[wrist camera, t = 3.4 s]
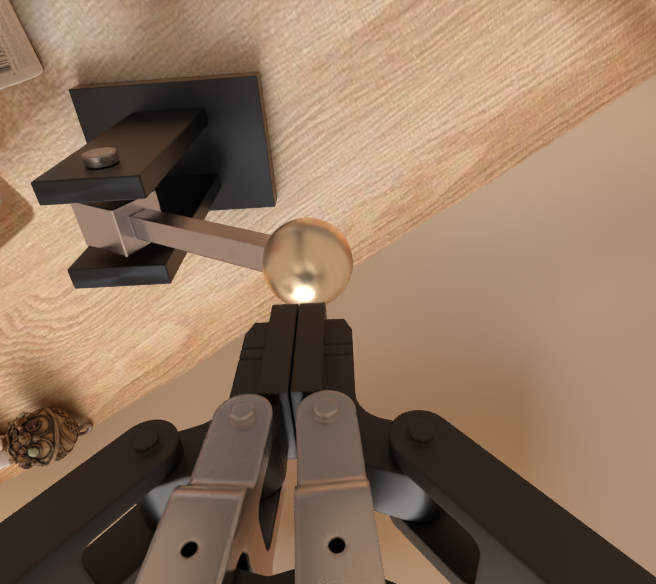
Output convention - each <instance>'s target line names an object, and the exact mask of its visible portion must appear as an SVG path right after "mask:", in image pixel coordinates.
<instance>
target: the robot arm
mask: <svg viewBox="0 0 656 584" xmlns="http://www.w3.org/2000/svg"><path fill="white" fill-rule="evenodd" d="M239 359H240V360H239V362H238V366H237V370H236V374H235V378H234V382H233V386H232V390H231V394H230V398H229V399H228V400H226V401H225V402H223V403H222V404H221V405H220V406H219V407H218V409H217V410H216V411H215V413H214V416H213V418H212V420H210V421H209V422H207V423H205V424H202V425H199V426H196V427H193V428H189V429H186V430H182V431H179V432H178V431H177V429H176V427H175V426H174V425H173V424H172V423H170V422H168V421H164V420H149V421H145V422H143V423H140V424H138V425H136V426H134V427H132V428H131V429H129V430H128V431H126V432H125V433H124V434H122V435H121V436H120V437H118V438H117V439H115V440H114V441H113V442H111V443H110V444H108V445H107V446H106V447H104V448H103V449H102V450H100V451H99V452H97V453H96V454H95V455H93V456H92V457H91V458H89V459H88V460H87V461H85V462H84V463H82V464H81V465H80V466H78V467H77V468H75V469H74V470H73V471H71V472H70V473H69V474H67V475H66V476H64V477H63V478H62V479H60V480H59V481H58V482H56V483H55V484H53V485H52V486H51V487H49V488H48V489H46V490H45V491H44V492H42V493H41V494H40V495H38V496H37V497H35V498H34V499H33V500H32V501H30V502H29V503H27V504H26V505H25V506H23V507H22V508H20V509H19V510H18V511H16V512H15V513H13V514H12V515H11V516H9V517H8V518H6V519H5V520H4V521H2V522H1V523H0V584H396V583H393V582H391V581H388V580H386V579H385V577H384V570H383V564H382V559H381V552H380V545H379V539H378V533H377V527H376V520H375V514H374V511H376V512H380V513H384V514H387V515H390V517H391V520H392V521H393V523H394V525H395V526H396V527H397V528H398V529H399V530H400V531H401V532H402V533H403V534H404V535H405V537H406V538H408V540H409V541H410V542H411V543H413V545H414V546H415V547H416V548H417V549H418V550H419V551H420V552H421V553H422V554H423V555H424V556H425V557H426V558H427V559H428V560H429V561H430V562H431V563H432V565H433V566H434V567H435V568H436V569H437V570H438V571H439V572H440V573H441V574H442V575H443V576H444V577H445V578H446V579H447V580H448V581H449V582H450V583H451V584H656V577H655V576H653V575H652V574H650V573H649V572H648V571H647V570H645V569H644V568H643V567H641V566H640V565H639V564H637V563H636V562H635V561H633V560H632V559H630V558H629V557H628V556H627V555H625V554H624V553H623V552H621V551H620V550H619V549H617V548H616V547H615V546H613V545H612V544H611V543H609V542H608V541H607V540H605V539H604V538H602V537H601V536H600V535H598V534H597V533H596V532H595V531H593V530H592V529H591V528H589V527H588V526H586V525H585V524H584V523H582V522H581V521H580V520H578V519H577V518H576V517H574V516H573V515H572V514H570V513H569V512H568V511H566V510H565V509H564V508H562V507H561V506H560V505H558V504H557V503H556V502H554V501H553V500H552V499H550V498H549V497H548V496H546V495H545V494H544V493H542V492H541V491H540V490H538V489H537V488H536V487H534V486H533V485H532V484H530V483H529V482H528V481H526V480H525V479H523V478H522V477H521V476H519V475H518V474H517V473H516V472H514V471H513V470H512V469H510V468H509V467H508V466H506V465H505V464H503V463H502V462H501V461H500V460H498V459H497V458H496V457H494V456H493V455H492V454H490V453H489V452H488V451H486V450H485V449H484V448H482V447H481V446H480V445H478V444H477V443H475V442H474V441H473V440H471V439H470V438H469V437H468V436H466V435H465V434H463V433H462V432H461V431H459V430H458V429H457V428H455V427H454V426H453V425H451V424H450V423H449V422H447V421H446V420H445V419H443V418H442V417H440V416H439V415H437V414H435V413H432V412H429V411H423V410H414V411H408V412H405V413H403V414H401V415H399V416H398V417H397V418H396V419H395V420H394V421H391V420H387V419H383V418H379V417H376V416H373V415H371V414H370V413H368V412H366V411H365V410H364V409H363V408H362V407H361V406H360V405H359V403H358V402H357V399H356V395H355V381H354V361H353V342H352V329H351V328H350V327H349V325H348V324H347V322H346V321H345V320H344V319H327V317H326V305H325V302H319V303H300V305H299V304H281V305H273V306H272V310H271V316H270V321H269V322H268V323H255V324H254V325H253V326H252V327H251V329H250V330H249V331H248V332H247V333H246V334H245V338H244V342H243V346H242V350H241V354H240V358H239ZM287 459H297V486H295V492H294V515H295V569H293V570H289V571H286V572H283V573H279V574H276V575H273V560H274V553H275V547H276V542H277V536H278V530H279V525H280V519H281V513H282V508H283V502H284V497H285V491H286V481H285V477H286V469H287ZM135 504H137V505H136V506H135V507H134V508H133V509H132V510H130V511H129V512H128V513H127V514H126V515H125V516H123V517H122V518H121V519H120V520H119V521H117V522H116V523H115V524H114V525H113V526H111V527H110V528H109V529H108V530H107V531H106V532H104V533H103V534H102V535H101V536H100V537H98V538H97V539H96V540H95V541H94V542H93V543H91V544H90V545H89V543H90V542H91V541H92V540H93V539H95V538H96V537H97V536H98V535H99V534H100V533H102V532H103V531H104V530H105V529H106V528H108V527H109V526H110V525H111V524H112V523H114V522H115V521H116V520H117V519H118V518H120V517H121V516H122V515H123V514H124V513H125V512H127V511H128V510H129V509H130V508H131V507H133V506H134V505H135ZM88 545H89V546H88ZM87 546H88V547H87ZM86 547H87V548H86Z"/></svg>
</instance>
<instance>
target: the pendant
mask: <svg viewBox="0 0 656 584" xmlns="http://www.w3.org/2000/svg"><path fill="white" fill-rule="evenodd" d="M86 427H89V428H88V429H87V430H86V431H84V432H82V433H81V432H79V431H80V430H82V429H83V428H86ZM7 428H8V431H7V433H6V434H5V436H4V438H0V452H2V451H5V452H8V455H10V456H11V457H10V459H9V463H10V465H11V464H19V465H18V466H19V467H22V468H23V469H29V468H31V467H32V466H48V465H50V464H51V463H52V462H54V461H59V460H61V459H62V458H64V457H65V456H66V455H67V453H70V451H71V450H72V449H73V447H74V444H75V443H76V441H77V438H78V436H84V435H86V434H88V433H89V432H91V431H92V429H93V426H92V425H91V424H88V423H85V424H83V425H80V426H78V423H77V422H76V421H75V419H74V418H73V417H72V415H70V414H69V413H68V412H66V411H64V410H61V409H58V408H42V409H38V410H36V411H34V412H32V413H30V412H29V413H27V412H22V413H20V414H19V415H18V416H17V417H16V419H14V420H13V421H11V422H8V423H7Z"/></svg>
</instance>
